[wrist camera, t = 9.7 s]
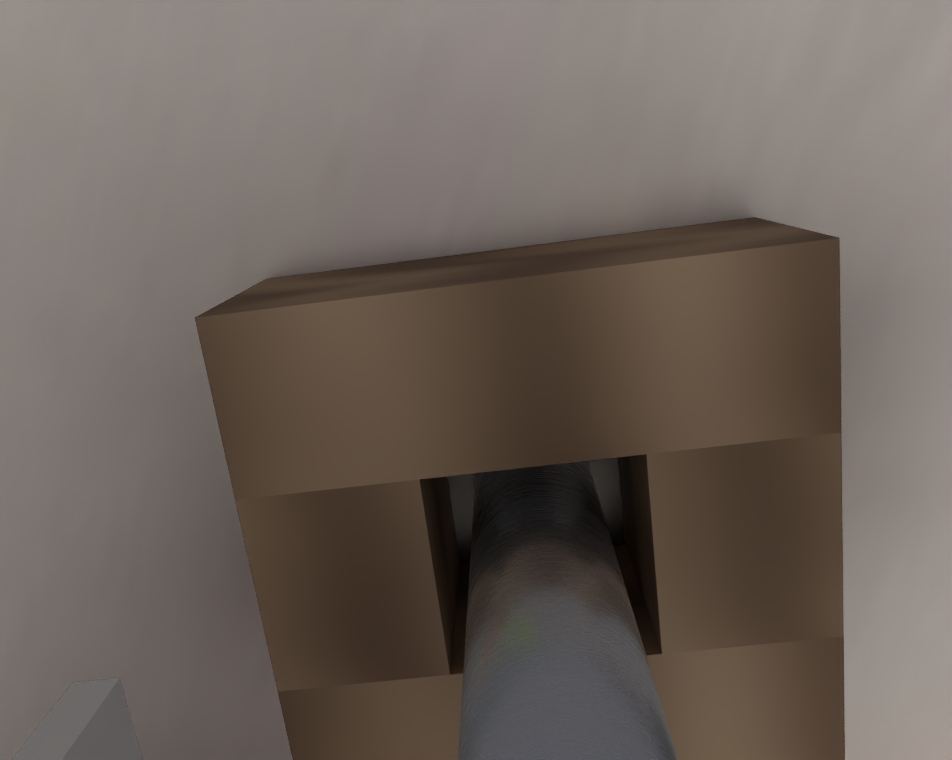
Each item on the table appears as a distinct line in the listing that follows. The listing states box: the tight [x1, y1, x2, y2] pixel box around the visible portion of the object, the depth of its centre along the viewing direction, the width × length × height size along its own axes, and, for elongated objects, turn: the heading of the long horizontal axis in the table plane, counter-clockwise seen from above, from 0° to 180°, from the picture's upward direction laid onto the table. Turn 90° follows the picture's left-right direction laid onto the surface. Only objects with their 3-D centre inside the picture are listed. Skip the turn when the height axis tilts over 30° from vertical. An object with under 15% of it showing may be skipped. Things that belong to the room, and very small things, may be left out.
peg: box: [458, 461, 678, 760], centre depth 15 cm, size 3×3×14 cm
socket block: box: [195, 217, 845, 760], centre depth 19 cm, size 12×12×5 cm
